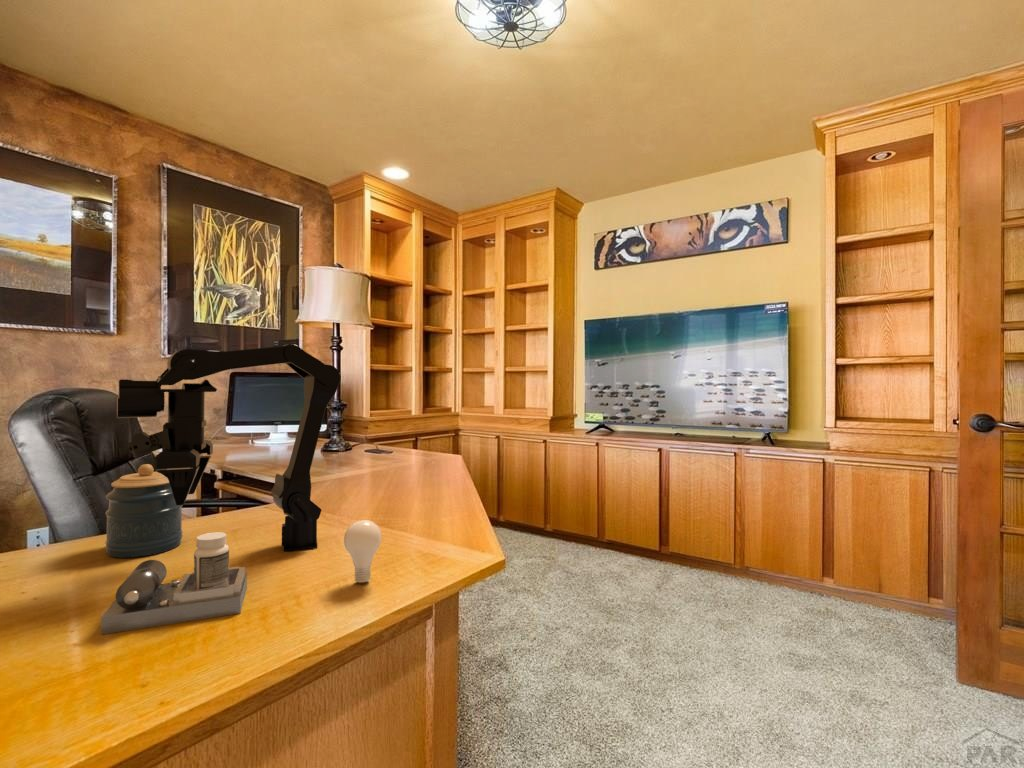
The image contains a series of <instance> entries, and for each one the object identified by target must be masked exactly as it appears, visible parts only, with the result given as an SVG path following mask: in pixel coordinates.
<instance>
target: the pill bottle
mask: <svg viewBox="0 0 1024 768" xmlns="http://www.w3.org/2000/svg"><path fill="white" fill-rule="evenodd" d="M195 546H196V547H197V548H196V549H195V551H194V553H193V572H194V590H196V589H203V588H211V587H218V586H226V585H229V568H230V548H229V545H228V544H227V534H226V533H225V532H223V531H221V532H220V531H218V532H217V531H216V532H214V531H213V532H208V533H204V534H200V535H198V536H197V537H196V545H195Z"/></svg>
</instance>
